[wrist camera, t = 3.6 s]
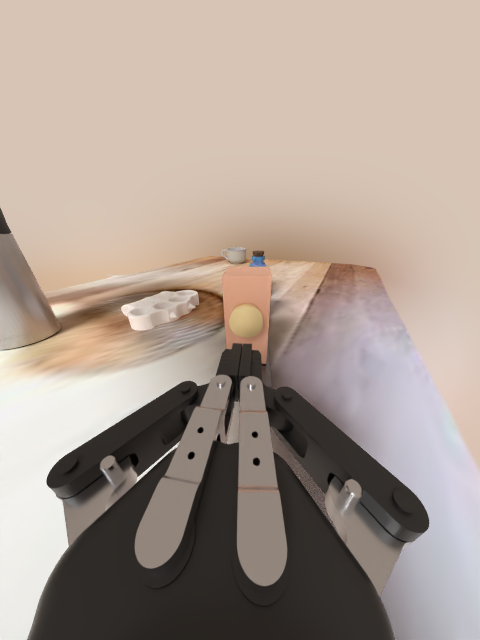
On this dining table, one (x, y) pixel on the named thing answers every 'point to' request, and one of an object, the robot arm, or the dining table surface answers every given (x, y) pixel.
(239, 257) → the teacup
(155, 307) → the white brass knuckles
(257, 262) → the perfume bottle
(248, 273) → the carriage
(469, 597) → the dining table surface
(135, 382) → the dining table surface
